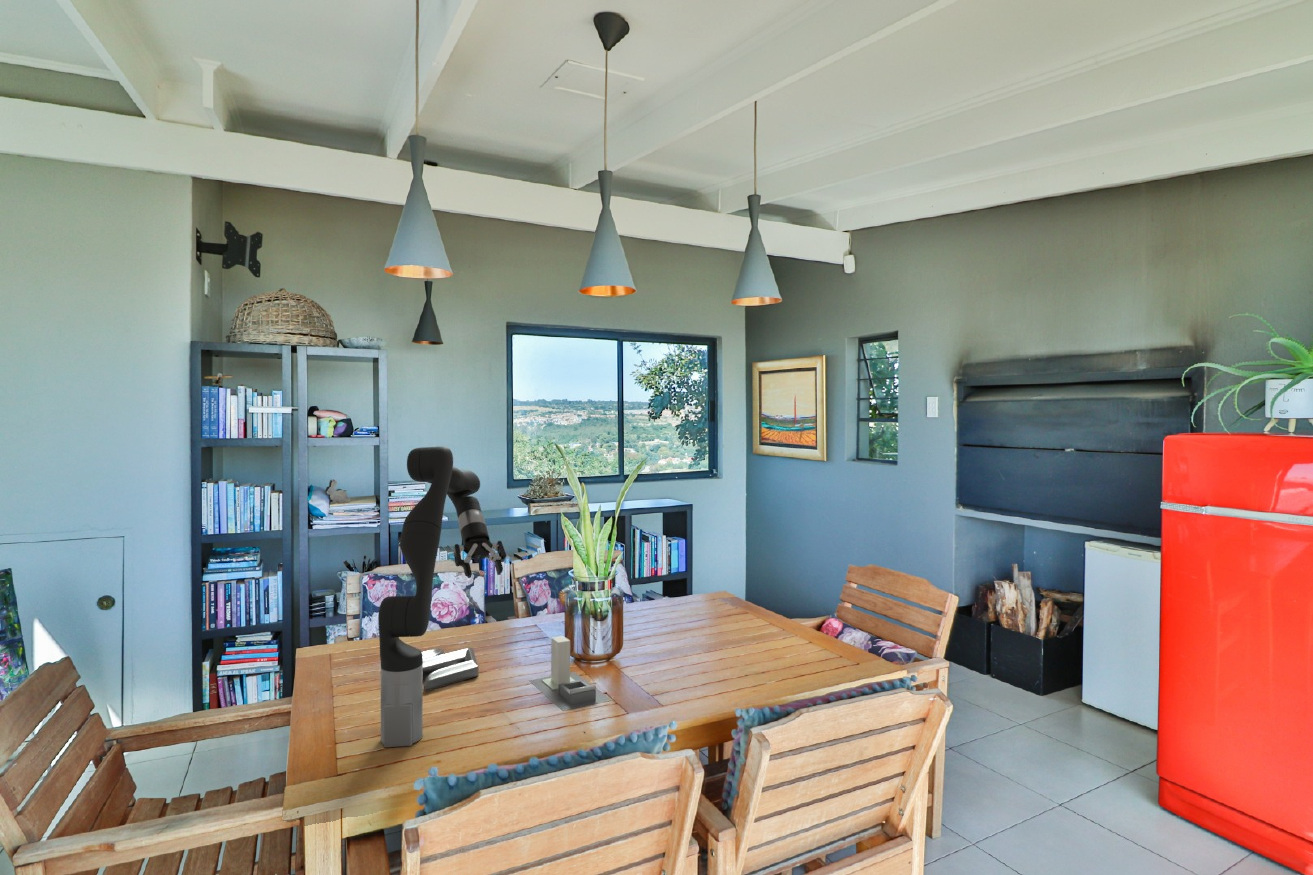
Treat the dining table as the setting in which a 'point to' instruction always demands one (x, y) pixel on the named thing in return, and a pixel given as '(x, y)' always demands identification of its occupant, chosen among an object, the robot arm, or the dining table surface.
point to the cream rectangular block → (560, 660)
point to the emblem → (448, 667)
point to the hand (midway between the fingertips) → (485, 574)
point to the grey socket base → (570, 692)
